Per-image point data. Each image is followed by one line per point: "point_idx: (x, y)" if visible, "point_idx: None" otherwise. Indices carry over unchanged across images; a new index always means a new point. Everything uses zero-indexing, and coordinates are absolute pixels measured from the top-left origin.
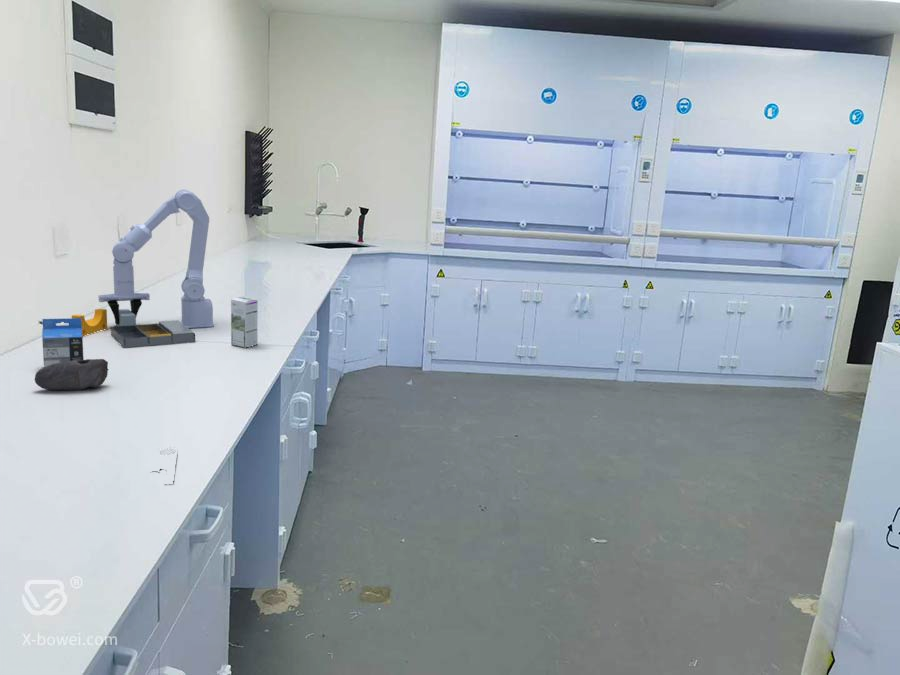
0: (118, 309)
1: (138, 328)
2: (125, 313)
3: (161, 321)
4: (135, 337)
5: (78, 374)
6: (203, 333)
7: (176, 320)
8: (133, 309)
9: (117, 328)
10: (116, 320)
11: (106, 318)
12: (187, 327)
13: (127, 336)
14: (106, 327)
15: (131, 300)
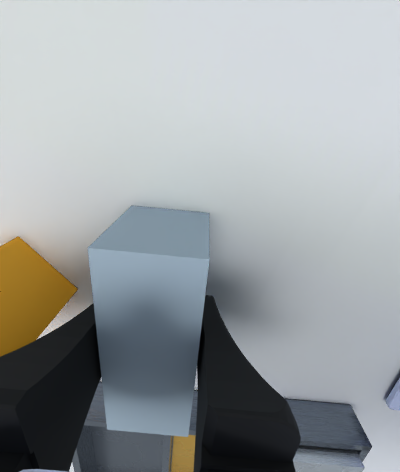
0: (80, 428)
1: (164, 468)
2: (142, 388)
3: None
4: (149, 454)
5: None
6: (388, 460)
7: (359, 468)
8: (196, 420)
9: (94, 415)
10: None
11: (39, 334)
12: (397, 409)
13: (127, 439)
14: (68, 297)
15: (201, 467)
